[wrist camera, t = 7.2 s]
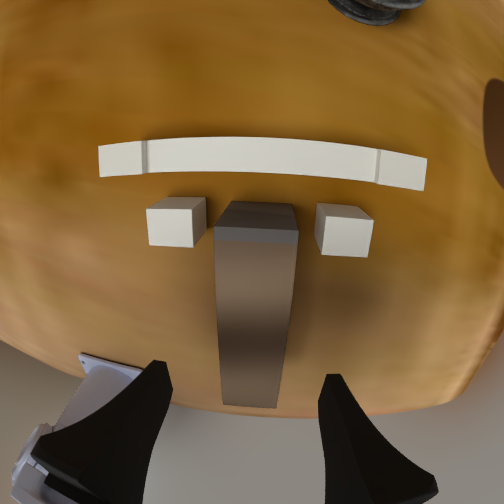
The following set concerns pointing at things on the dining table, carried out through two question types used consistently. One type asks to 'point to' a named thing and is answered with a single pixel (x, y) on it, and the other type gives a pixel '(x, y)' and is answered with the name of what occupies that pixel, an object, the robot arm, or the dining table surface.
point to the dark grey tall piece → (374, 9)
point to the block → (254, 298)
